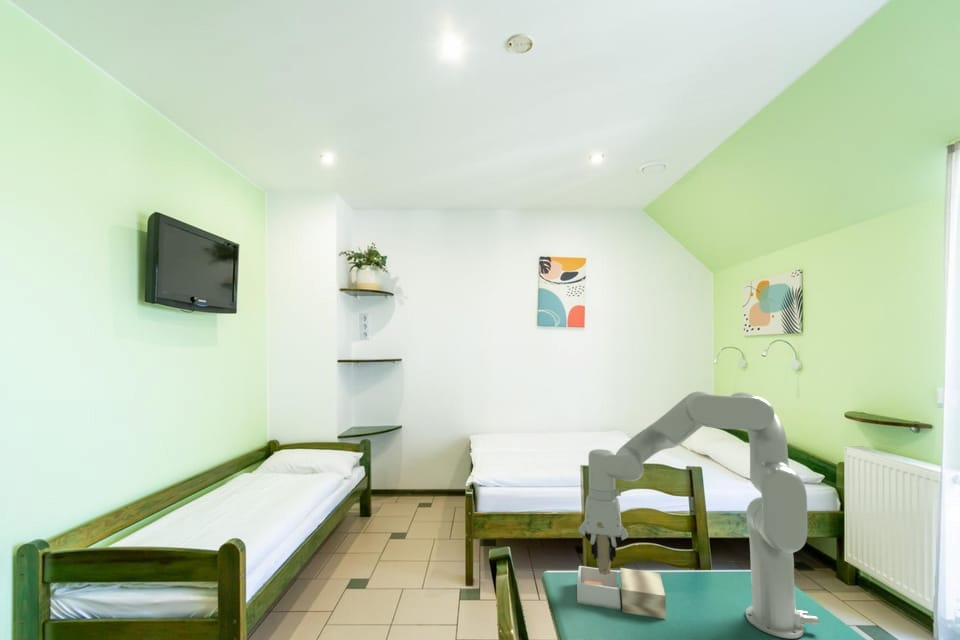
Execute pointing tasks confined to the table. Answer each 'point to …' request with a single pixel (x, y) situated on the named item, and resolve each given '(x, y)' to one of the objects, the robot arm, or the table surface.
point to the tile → (593, 582)
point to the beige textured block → (642, 593)
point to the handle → (603, 552)
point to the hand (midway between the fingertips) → (603, 557)
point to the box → (598, 588)
